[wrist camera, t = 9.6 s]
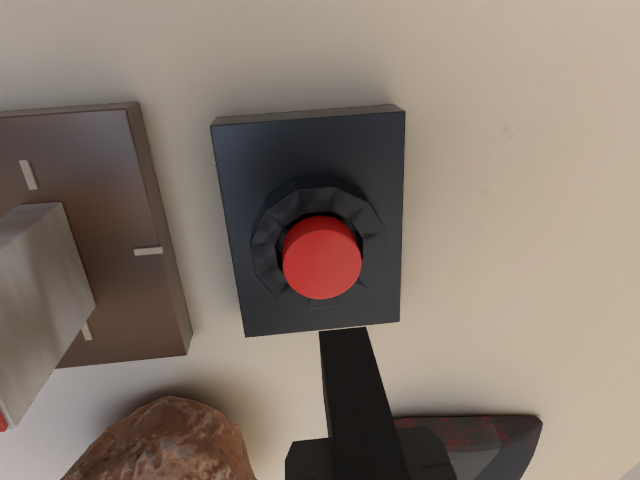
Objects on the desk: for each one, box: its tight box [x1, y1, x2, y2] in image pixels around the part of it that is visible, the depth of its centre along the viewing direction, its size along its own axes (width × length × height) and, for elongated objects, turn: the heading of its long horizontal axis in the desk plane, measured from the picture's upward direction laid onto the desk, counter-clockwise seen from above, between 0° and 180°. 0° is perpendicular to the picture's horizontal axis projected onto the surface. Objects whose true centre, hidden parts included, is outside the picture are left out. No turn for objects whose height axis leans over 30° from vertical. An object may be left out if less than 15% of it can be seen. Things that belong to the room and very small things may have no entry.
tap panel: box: [0, 102, 193, 369], centre depth 23 cm, size 14×10×2 cm
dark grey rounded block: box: [393, 416, 543, 480], centre depth 32 cm, size 8×14×4 cm, turn 86°
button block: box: [210, 104, 405, 337], centre depth 22 cm, size 12×9×4 cm
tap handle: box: [0, 202, 96, 432], centre depth 18 cm, size 6×2×8 cm, turn 3°
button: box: [282, 215, 362, 299], centre depth 20 cm, size 4×4×2 cm
